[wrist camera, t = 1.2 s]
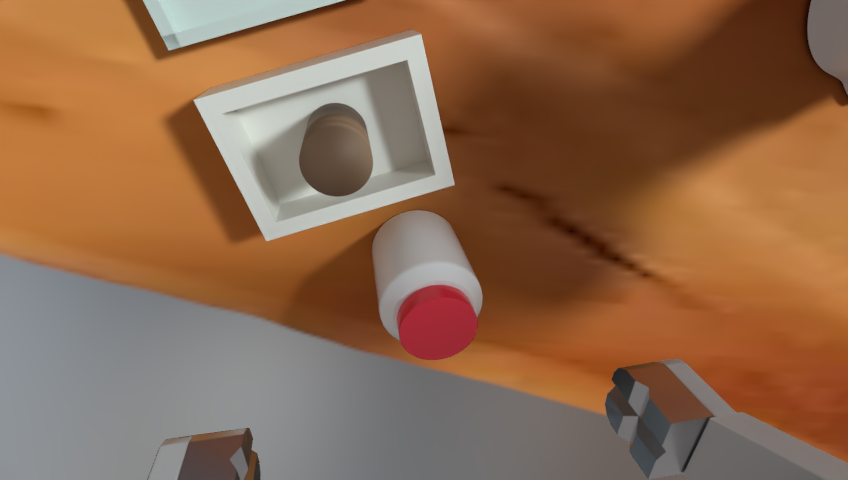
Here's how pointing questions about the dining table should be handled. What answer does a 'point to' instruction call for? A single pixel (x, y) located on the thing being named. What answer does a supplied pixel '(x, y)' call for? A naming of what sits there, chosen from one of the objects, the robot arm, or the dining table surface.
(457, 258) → the pill bottle
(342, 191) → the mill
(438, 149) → the white storage bin
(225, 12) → the tray
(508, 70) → the dining table surface
